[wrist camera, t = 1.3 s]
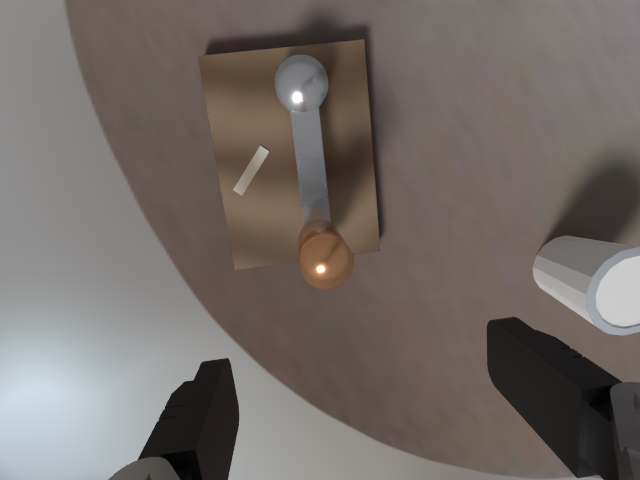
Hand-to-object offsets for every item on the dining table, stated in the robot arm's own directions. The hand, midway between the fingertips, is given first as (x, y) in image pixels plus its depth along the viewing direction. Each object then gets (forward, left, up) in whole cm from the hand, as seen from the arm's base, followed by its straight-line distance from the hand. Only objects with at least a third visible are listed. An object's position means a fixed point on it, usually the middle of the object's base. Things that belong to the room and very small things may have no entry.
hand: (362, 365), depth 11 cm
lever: (-6, 0, -18) cm, 19 cm away
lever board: (-6, -1, -20) cm, 21 cm away
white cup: (+6, +22, -20) cm, 30 cm away
